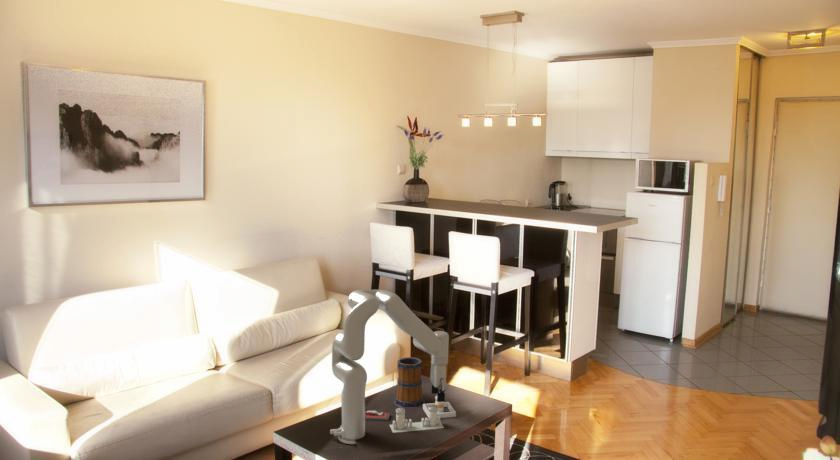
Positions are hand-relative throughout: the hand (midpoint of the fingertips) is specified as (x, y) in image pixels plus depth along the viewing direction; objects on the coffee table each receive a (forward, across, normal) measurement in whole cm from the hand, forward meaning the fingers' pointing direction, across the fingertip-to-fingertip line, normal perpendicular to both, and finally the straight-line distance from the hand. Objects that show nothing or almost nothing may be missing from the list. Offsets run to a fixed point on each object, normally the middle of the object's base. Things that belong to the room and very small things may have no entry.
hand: (437, 397), depth 293 cm
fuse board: (+9, +12, -12) cm, 19 cm away
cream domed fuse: (+8, +12, -19) cm, 24 cm away
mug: (+9, -20, -9) cm, 24 cm away
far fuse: (+7, +12, -5) cm, 15 cm away
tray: (+9, 0, +1) cm, 9 cm away
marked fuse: (+8, 0, +1) cm, 8 cm away
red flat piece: (+10, -3, -30) cm, 31 cm away
